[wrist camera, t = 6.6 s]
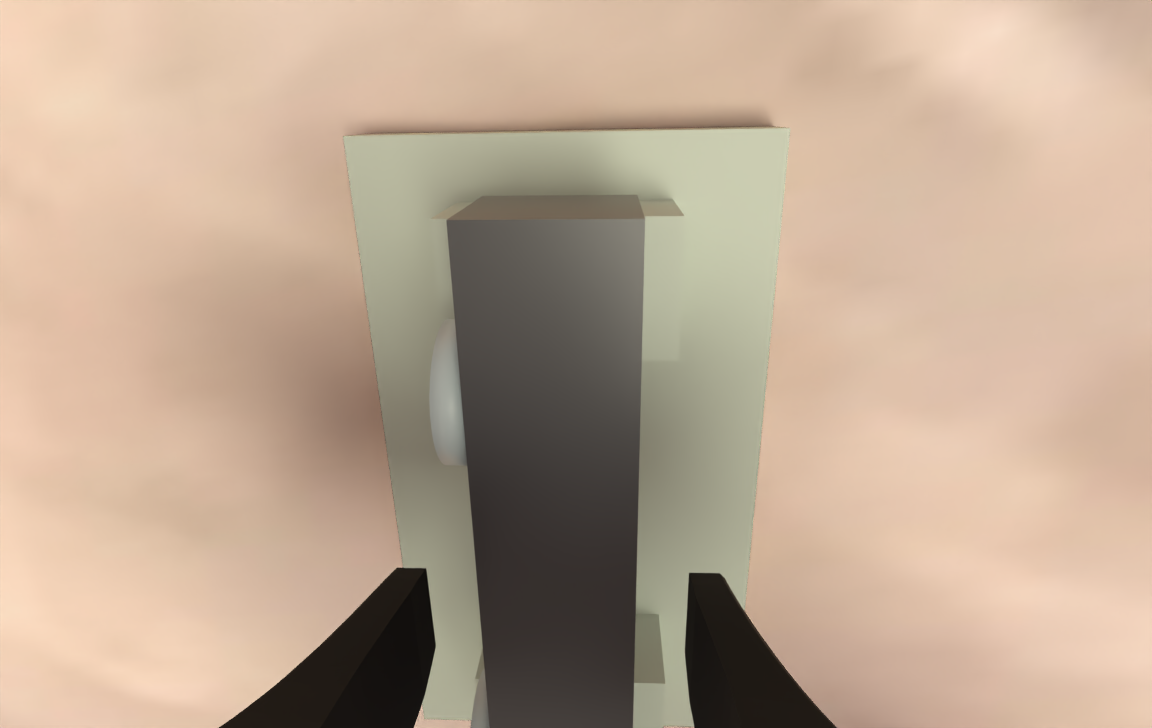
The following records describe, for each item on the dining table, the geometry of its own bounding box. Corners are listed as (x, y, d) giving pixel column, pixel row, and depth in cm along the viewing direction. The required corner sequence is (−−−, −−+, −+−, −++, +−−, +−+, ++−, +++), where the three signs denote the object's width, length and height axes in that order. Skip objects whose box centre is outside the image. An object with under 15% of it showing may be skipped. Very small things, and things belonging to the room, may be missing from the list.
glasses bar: (626, 779, 18) (628, 899, 16) (498, 774, 18) (479, 892, 16) (637, 194, 12) (645, 218, 10) (451, 196, 13) (407, 219, 10)
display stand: (725, 689, 22) (749, 805, 18) (435, 681, 23) (401, 793, 19) (774, 126, 16) (825, 131, 12) (366, 133, 16) (293, 140, 12)
